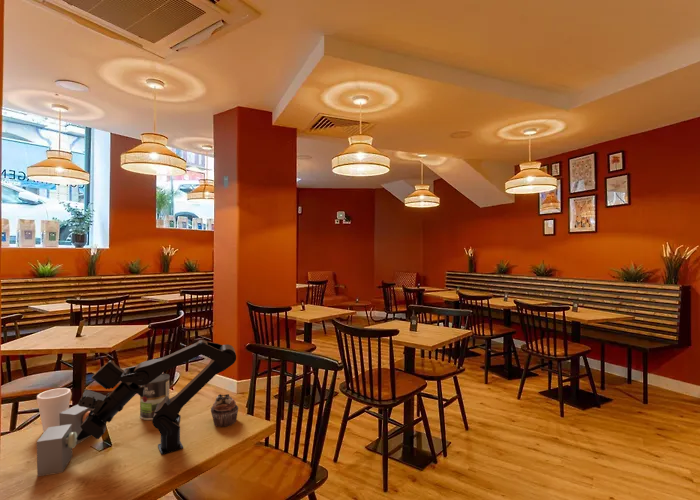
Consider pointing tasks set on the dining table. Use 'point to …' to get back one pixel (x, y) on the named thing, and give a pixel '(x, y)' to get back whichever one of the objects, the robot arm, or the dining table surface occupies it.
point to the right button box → (74, 418)
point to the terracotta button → (85, 416)
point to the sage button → (71, 440)
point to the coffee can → (153, 396)
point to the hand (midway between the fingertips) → (77, 438)
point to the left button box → (53, 450)
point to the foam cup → (53, 406)
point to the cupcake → (224, 411)
